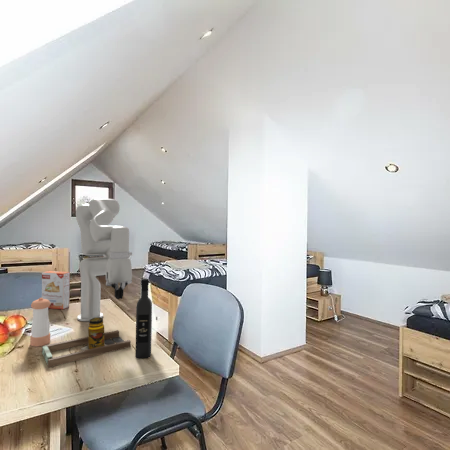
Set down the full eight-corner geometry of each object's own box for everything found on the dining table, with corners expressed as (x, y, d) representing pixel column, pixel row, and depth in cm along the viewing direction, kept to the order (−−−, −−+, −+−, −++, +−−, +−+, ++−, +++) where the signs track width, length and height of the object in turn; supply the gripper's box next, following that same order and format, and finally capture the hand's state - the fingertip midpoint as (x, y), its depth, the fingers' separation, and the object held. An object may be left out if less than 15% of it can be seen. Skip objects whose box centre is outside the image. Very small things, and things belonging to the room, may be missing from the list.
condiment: (96, 353, 122) (96, 323, 121) (80, 349, 125) (79, 320, 124) (109, 345, 129) (109, 317, 128) (93, 342, 132) (93, 314, 131)
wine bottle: (150, 358, 119) (151, 280, 118) (135, 359, 118) (136, 280, 117) (151, 352, 124) (152, 277, 124) (136, 352, 123) (138, 277, 123)
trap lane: (41, 352, 122) (41, 344, 121) (117, 335, 140) (117, 329, 140) (48, 367, 110) (48, 359, 110) (130, 347, 129) (130, 339, 128)
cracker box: (40, 308, 178) (41, 272, 178) (48, 305, 184) (48, 270, 184) (62, 310, 176) (63, 273, 175) (69, 307, 182) (70, 271, 181)
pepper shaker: (38, 347, 126) (39, 300, 125) (26, 344, 128) (26, 298, 128) (54, 341, 133) (54, 296, 132) (41, 338, 135) (42, 294, 135)
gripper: (133, 253, 140) (132, 294, 140) (98, 255, 130) (97, 299, 131) (140, 255, 134) (139, 297, 134) (104, 257, 124) (103, 303, 125)
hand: (118, 298), depth 132 cm, fingers closed
